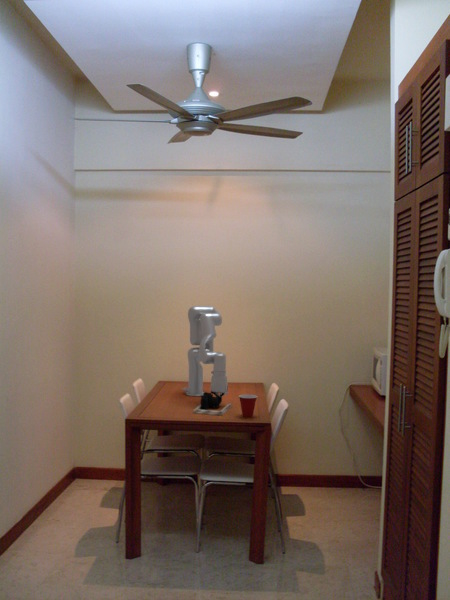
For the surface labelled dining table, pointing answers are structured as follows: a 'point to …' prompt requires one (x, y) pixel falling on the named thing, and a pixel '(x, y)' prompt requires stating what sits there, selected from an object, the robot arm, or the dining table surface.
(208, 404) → the film camera
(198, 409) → the camera rest
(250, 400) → the plastic cup
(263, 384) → the dining table surface
